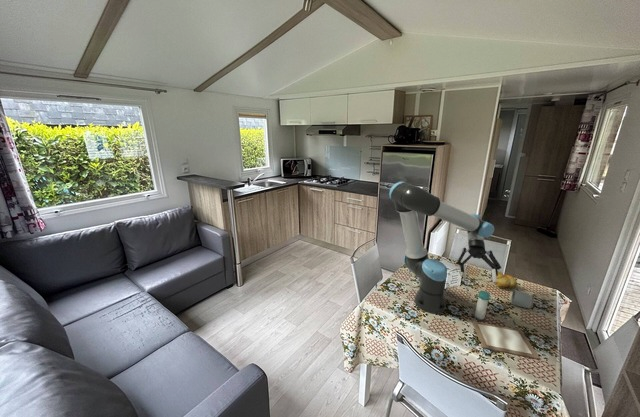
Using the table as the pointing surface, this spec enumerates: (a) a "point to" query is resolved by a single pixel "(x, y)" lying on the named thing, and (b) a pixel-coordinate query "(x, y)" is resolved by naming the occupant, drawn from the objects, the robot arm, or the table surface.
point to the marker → (481, 305)
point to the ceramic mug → (522, 299)
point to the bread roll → (505, 281)
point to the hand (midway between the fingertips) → (479, 280)
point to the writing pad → (504, 340)
